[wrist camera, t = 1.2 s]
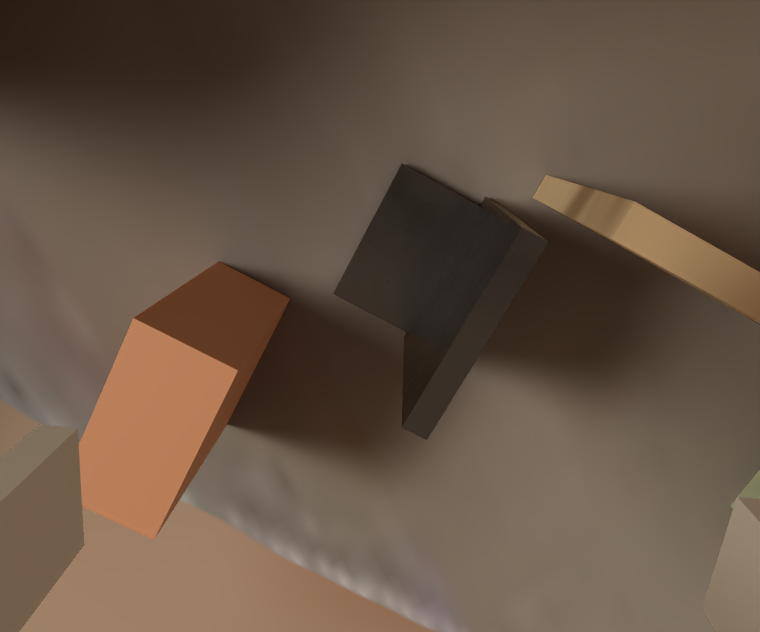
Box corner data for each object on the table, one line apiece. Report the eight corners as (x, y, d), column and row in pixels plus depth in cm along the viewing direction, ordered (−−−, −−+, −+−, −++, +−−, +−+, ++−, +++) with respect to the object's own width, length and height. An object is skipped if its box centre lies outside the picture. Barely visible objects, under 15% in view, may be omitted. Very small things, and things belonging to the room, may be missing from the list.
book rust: (159, 390, 33) (57, 495, 24) (218, 261, 31) (133, 318, 22) (226, 424, 34) (153, 540, 24) (290, 298, 31) (238, 370, 22)
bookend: (330, 299, 31) (294, 373, 22) (407, 153, 29) (406, 163, 19) (421, 346, 32) (426, 439, 22) (503, 206, 29) (549, 242, 20)
